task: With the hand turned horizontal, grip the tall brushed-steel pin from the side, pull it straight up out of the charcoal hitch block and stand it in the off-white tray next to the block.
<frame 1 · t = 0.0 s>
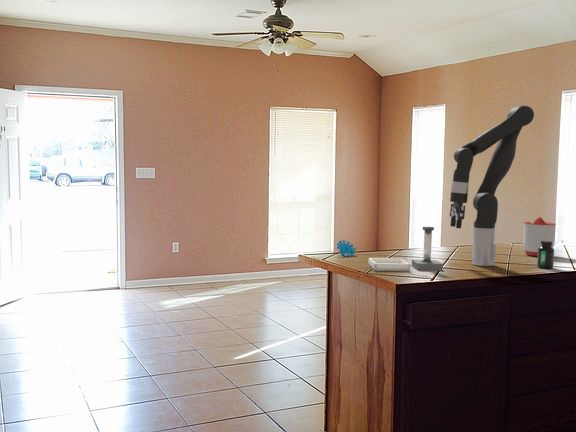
hand: (455, 227, 282), 17 cm above the countertop, tool pointing down, fingers open, 8 cm apart
tray: (388, 267, 271), on the countertop
citrus juicer: (537, 255, 320), on the countertop
hitch block: (426, 268, 271), on the countertop
gear: (346, 256, 304), on the countertop
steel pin: (427, 247, 270), in the hitch block
supplement bottle: (545, 268, 280), on the countertop
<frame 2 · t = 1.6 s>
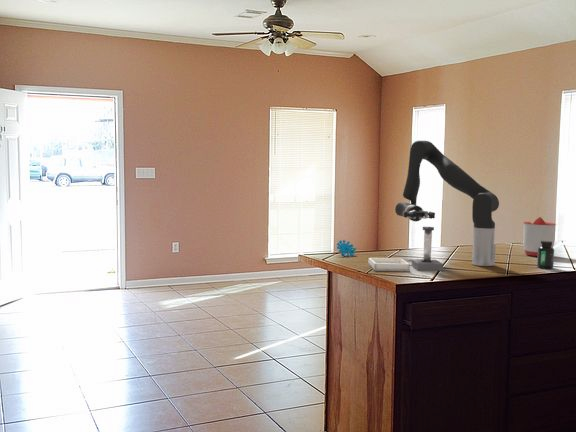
hand: (422, 216, 280), 22 cm above the countertop, tool horizontal, fingers open, 8 cm apart
nothing on the countertop moved.
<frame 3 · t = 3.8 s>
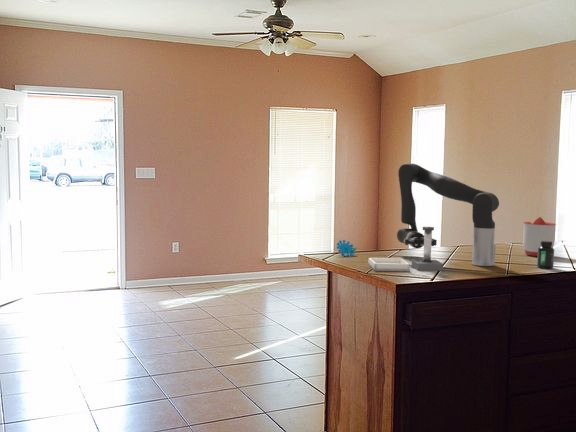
hand: (423, 243, 277), 10 cm above the countertop, tool horizontal, fingers open, 8 cm apart
nothing on the countertop moved.
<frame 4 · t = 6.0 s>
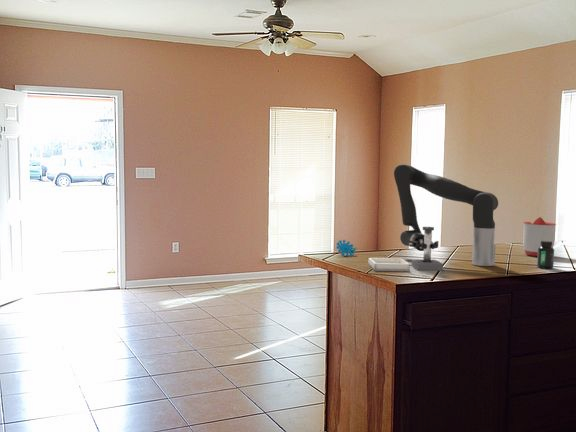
hand: (429, 246, 267), 10 cm above the countertop, tool horizontal, fingers closed on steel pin, 3 cm apart
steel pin: (427, 247, 270), in the hitch block, touching gripper
everything else where it was.
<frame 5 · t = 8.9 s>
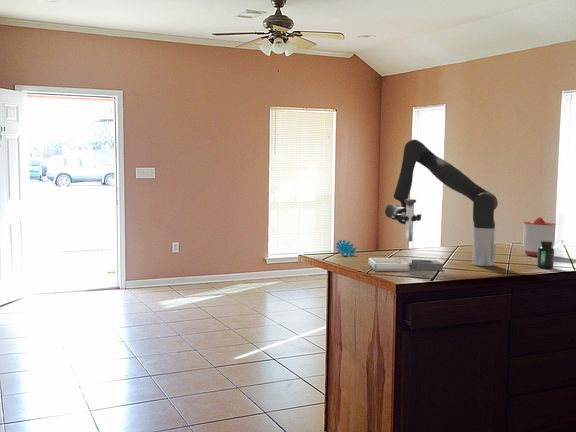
hand: (411, 218, 267), 22 cm above the countertop, tool horizontal, fingers closed on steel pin, 3 cm apart
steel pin: (409, 220, 270), point 21 cm above the countertop, touching gripper
everything else where it was.
when the fingers open (12 cm above the countertop, at t = 11.7 s): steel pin stays where it is, resting on tray.
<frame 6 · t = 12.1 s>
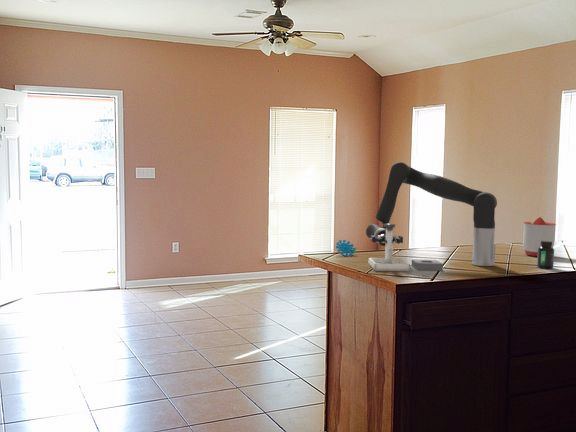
hand: (390, 241, 267), 12 cm above the countertop, tool horizontal, fingers open, 7 cm apart
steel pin: (389, 244, 270), in the tray, point 10 cm above the countertop
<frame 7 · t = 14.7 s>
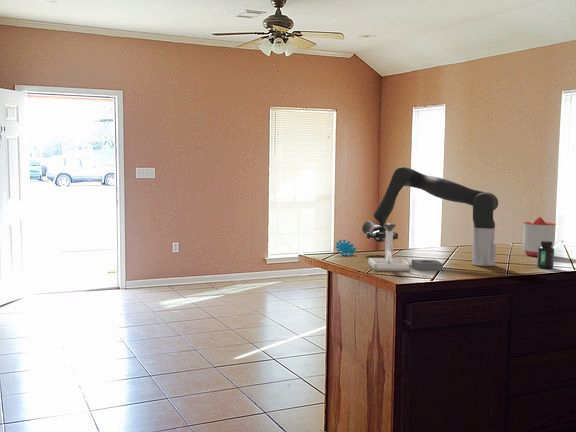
hand: (384, 237, 281), 12 cm above the countertop, tool horizontal, fingers open, 8 cm apart
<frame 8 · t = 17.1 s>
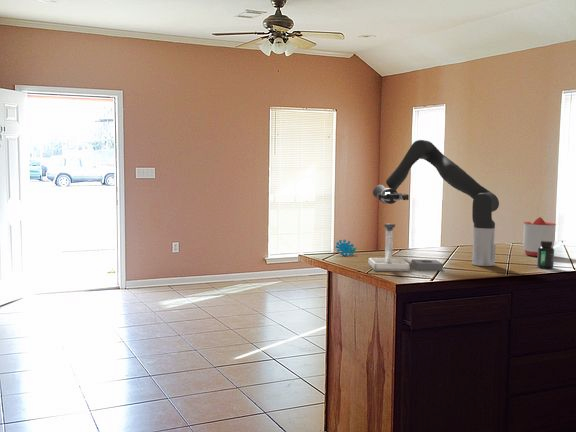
hand: (395, 197, 286), 30 cm above the countertop, tool horizontal, fingers open, 8 cm apart
at the end: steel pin inside the target area on the tray (0.1 cm from its centre), point 10.1 cm above the tray's base; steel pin moved 17.0 cm from its start; the gripper is holding nothing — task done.
